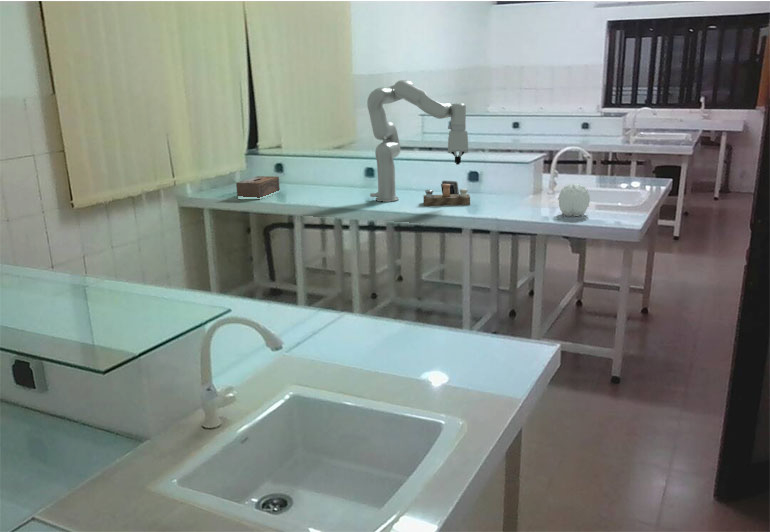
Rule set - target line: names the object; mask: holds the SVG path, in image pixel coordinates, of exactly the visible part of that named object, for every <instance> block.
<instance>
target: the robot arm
mask: <svg viewBox="0 0 770 532" xmlns="http://www.w3.org/2000/svg"><path fill="white" fill-rule="evenodd" d="M400 100H404V101H406V102H408V103H410V104H412V105H414V106H416V107H417V109H419V110H421V111H422V112H424V113H425V114H428V115H429V116H431V117H433V118H435V119H441V120H442V119H448V118H450V125H448V126H447V129H448V130H449V131H448V132H449V133H448V137H447V139H448V141H447V153H448V154H452V156H454V163H455V164H456V166H457V165H460V164H461V161H462V160H461V159H462V156H463V155H464V154H467V153H469V136H468V135H469V134H468V131H467V130H466V125H467V124H466V122H467V120H466V118H467V117H466V116H467V115H466V113H467V110H466V109H467V106H466V104H465V103H457V102H456V103H450V102H441V103H440V102H438V101H436V100H434V99H432V98H431V97H429V96H428V94H427V92H426V91H425V90H423V89H421V88H420V87H417V86H415V85H414V83H413V82H412V81H411V80H407V79H401V80H398V81H396V82H395V83H394V84H392V85H390V86H387V87H384V86H382V87H378V88H375V89H373V90H372V91H371V92H370V93H369V95H368V97H367V100H366V101H367V103H366V105H367V110H368V115H369V118H370V123H371V128H372V133H373V136H374V138H375V139H376V140H379V141H382V142H380V143H379V144H378V145H377V146H376V148H375V150H374V151H375V153H374V154H375V160H376V165H377V166H376V169H377V171H376V172H377V192H370V197H372V198H375V201H376V200H377V201H376V202H379V201H383V202H382V203H388V202H389V203H391V201H392V202H396V201H399V197H398V196H396V167H395V162H394V158H396V157H398V156H399V155H400V153H401V145H400V139H399V136H398V131H397V127H396V126H395V124H394V123H393V122H392V121H390V120H388V119H387V114H386V111H385V109H384V106H383V105H386V104H387V105H388V104H393V103H395V102H398V101H400ZM457 152H458V153H457Z"/></svg>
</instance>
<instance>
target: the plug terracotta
mask: <svg viewBox="0 0 770 532" xmlns="http://www.w3.org/2000/svg"><path fill="white" fill-rule="evenodd" d="M441 184H442V183H441ZM442 187H443V194H442V195H443V197H450V184H442Z"/></svg>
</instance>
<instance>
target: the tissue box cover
mask: <svg viewBox="0 0 770 532" xmlns="http://www.w3.org/2000/svg"><path fill="white" fill-rule="evenodd" d="M279 177H280V176H264V175H263V176H260V175H259V176H254V177H250V178H247V179H244V180H241V181H237V182H235V186H236V196H243V197H257V198H260V197H263V196H266V195H269V194H271V193H274V192H276V191H279V190H280V191H281V189H280V178H279Z"/></svg>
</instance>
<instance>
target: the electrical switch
mask: <svg viewBox="0 0 770 532" xmlns="http://www.w3.org/2000/svg"><path fill="white" fill-rule="evenodd" d="M442 184H450V195H451V194H460V189H459V184H458V181H456V180H442V181H441V183H440V187H441V193H442V194H441V195H443V187H442Z"/></svg>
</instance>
